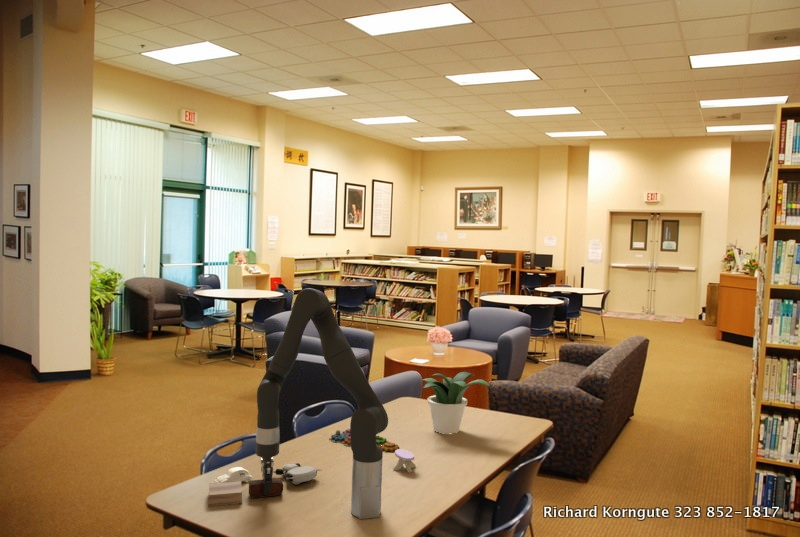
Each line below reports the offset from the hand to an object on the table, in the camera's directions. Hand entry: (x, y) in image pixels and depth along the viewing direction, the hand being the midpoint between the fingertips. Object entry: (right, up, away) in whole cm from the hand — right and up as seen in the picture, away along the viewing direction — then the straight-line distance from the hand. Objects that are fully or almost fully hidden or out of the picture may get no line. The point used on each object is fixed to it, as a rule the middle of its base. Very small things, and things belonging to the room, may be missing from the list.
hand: (266, 491), depth 198 cm
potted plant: (+67, -1, +75) cm, 101 cm away
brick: (0, -1, 0) cm, 1 cm away
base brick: (-13, -1, -4) cm, 13 cm away
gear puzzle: (+30, -1, +55) cm, 62 cm away
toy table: (+45, -2, +28) cm, 54 cm away
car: (-14, -1, +10) cm, 17 cm away
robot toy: (+7, -1, +15) cm, 16 cm away
